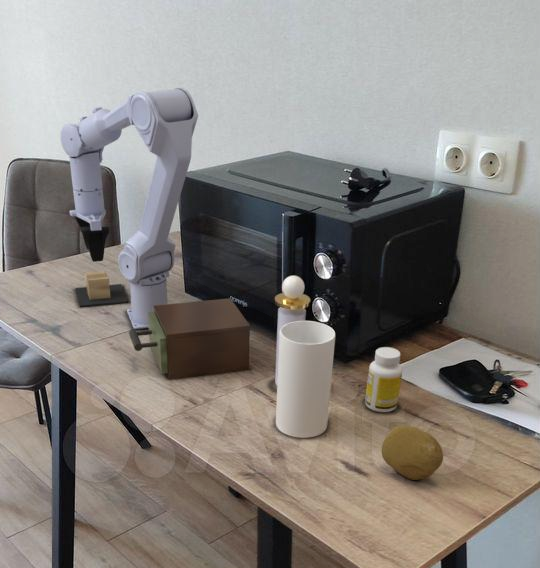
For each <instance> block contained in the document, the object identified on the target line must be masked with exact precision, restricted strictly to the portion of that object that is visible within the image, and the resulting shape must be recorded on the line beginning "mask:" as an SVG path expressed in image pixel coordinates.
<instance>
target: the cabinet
mask: <svg viewBox="0 0 540 568" xmlns="http://www.w3.org/2000/svg"><path fill="white" fill-rule="evenodd" d="M153 309H154V313H155V315H156V317H157V319H158V321H159V323H160V325H161V327H162V330H163V331H164V333H165V335H166V338H167V357H168V373H166V375H167V377H168V379H169V380H173V379H182V378H190V377H197V376H199V377H200V376H207V375H215V374H221V373H228V372H229V373H230V372H237V371H244V370H245V371H246V370H249V369H250V342H251V341H250V339H251V338H250V337H251V325H250V324H249V322H248V321H247V320H246V318H245V317H244V315H243V314H242V312H241V311H240V310H239V308H238V307H237V305H236V304H235V303H234V301H233V300H232V298H231V297H228V298H219V299H207V300H198V301H189V302H188V301H187V302H178V303H177V302H175V303H168V304H166V305H155V306H153Z"/></svg>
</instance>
